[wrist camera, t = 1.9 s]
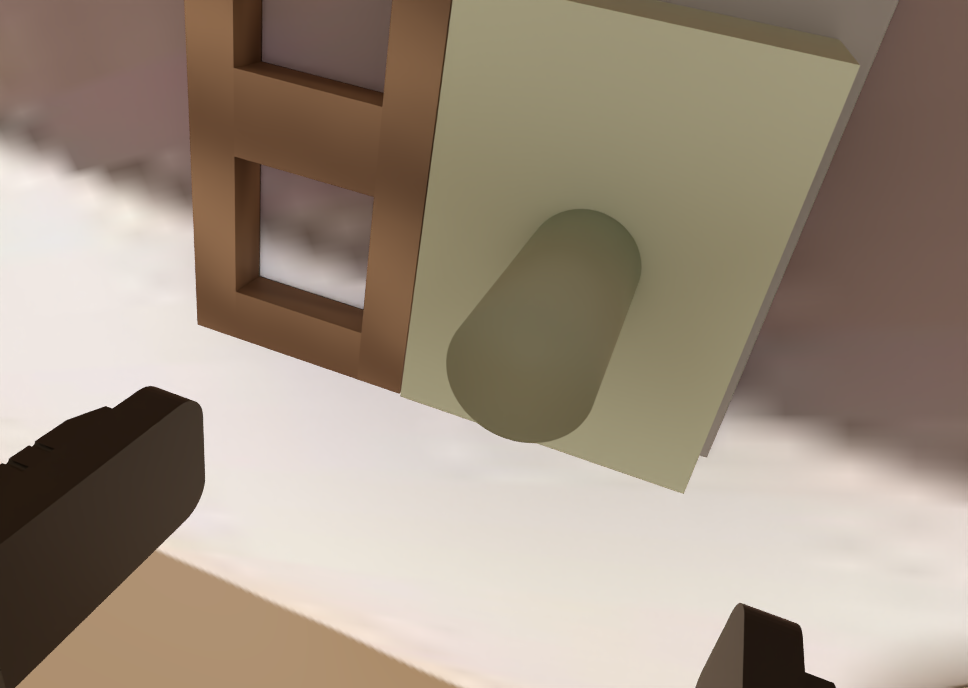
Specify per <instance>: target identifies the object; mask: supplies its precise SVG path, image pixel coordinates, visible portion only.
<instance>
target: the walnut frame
mask: <svg viewBox="0 0 968 688" xmlns="http://www.w3.org/2000/svg"><path fill="white" fill-rule="evenodd" d="M452 1H453V0H392V10H391V20H390V31H389V42H388V53H387V63H386V74H385V85H384V93H381V92H377V91H373V90H369V89H365V88H361V87H358V86H354V85H350V84H346V83H342V82H338V81H334V80H331V79H327V78H323V77H319V76H315V75H311V74H307V73H303V72H300V71H296V70H292V69H288V68H284V67H280V66H276V65H273V64H269V63H265V62H261V11H262V0H184V6H185V30H186V54H187V78H188V103H189V127H190V151H191V176H192V200H193V224H194V248H195V273H196V297H197V321H198V325H201V326H204V327H207V328H210V329H213V330H215V331H218V332H221V333H224V334H227V335H230V336H233V337H236V338H239V339H242V340H245V341H247V342H250V343H253V344H256V345H259V346H262V347H265V348H268V349H271V350H274V351H277V352H279V353H282V354H285V355H288V356H291V357H294V358H297V359H300V360H303V361H306V362H309V363H312V364H314V365H317V366H320V367H323V368H326V369H329V370H332V371H335V372H338V373H341V374H344V375H346V376H349V377H352V378H355V379H358V380H361V381H364V382H367V383H370V384H373V385H376V386H379V387H381V388H384V389H387V390H390V391H393V392H396V393H400V392H401V388H402V380H403V372H404V365H405V357H406V350H407V342H408V335H409V327H410V319H411V312H412V304H413V297H414V289H415V282H416V274H417V266H418V259H419V251H420V244H421V236H422V229H423V221H424V213H425V206H426V198H427V191H428V183H429V176H430V168H431V160H432V153H433V145H434V138H435V130H436V123H437V115H438V107H439V100H440V92H441V85H442V77H443V70H444V62H445V54H446V47H447V39H448V32H449V24H450V17H451V9H452ZM260 164H262V165H266V166H269V167H273V168H276V169H279V170H283V171H286V172H290V173H293V174H297V175H300V176H304V177H307V178H311V179H314V180H317V181H321V182H324V183H328V184H331V185H335V186H338V187H342V188H345V189H349V190H352V191H355V192H359V193H362V194H366V195H369V196H373V197H374V203H373V214H372V224H371V235H370V246H369V257H368V267H367V278H366V289H365V300H364V310H362V309H359V308H356V307H352V306H349V305H346V304H343V303H340V302H337V301H334V300H331V299H328V298H325V297H321V296H318V295H315V294H312V293H309V292H306V291H303V290H300V289H297V288H294V287H290V286H287V285H284V284H281V283H278V282H275V281H272V280H269V279H266V278H263V277H259V241H260Z"/></svg>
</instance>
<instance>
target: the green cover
mask: <svg viewBox="0 0 968 688" xmlns="http://www.w3.org/2000/svg"><path fill="white" fill-rule="evenodd" d="M859 67H860V64H859V63H858V62H857V61H856V59H855V58H854V57H853V56H852V54H851V53H850V52H849V51H848V50H847V48H846V47H845V46H844V45H843V43H842V42H841V41H840V40H839V39H834V38H829V37H825V36H820V35H815V34H811V33H806V32H801V31H797V30H792V29H788V28H783V27H778V26H774V25H769V24H764V23H760V22H755V21H750V20H746V19H741V18H736V17H732V16H727V15H723V14H718V13H713V12H709V11H704V10H699V9H695V8H690V7H685V6H681V5H676V4H672V3H667V2H662V1H658V0H453V1H452V9H451V17H450V24H449V32H448V39H447V47H446V54H445V62H444V70H443V77H442V85H441V92H440V100H439V107H438V115H437V123H436V130H435V138H434V145H433V153H432V160H431V168H430V176H429V183H428V191H427V198H426V206H425V213H424V221H423V229H422V236H421V244H420V251H419V259H418V266H417V274H416V282H415V289H414V297H413V304H412V312H411V319H410V327H409V335H408V342H407V350H406V357H405V365H404V372H403V380H402V388H401V395H400V396H401V397H404V398H407V399H410V400H412V401H415V402H418V403H421V404H424V405H427V406H430V407H433V408H436V409H439V410H442V411H444V412H447V413H450V414H453V415H456V416H459V417H462V418H465V419H468V420H471V421H473V422H476V423H478V424H479V425H481V426H482V427H484V428H485V429H487V430H488V431H490V432H492V433H494V434H496V435H498V436H501V437H503V438H506V439H510V440H513V441H518V442H524V443H537V444H540V445H543V446H546V447H549V448H552V449H555V450H558V451H561V452H564V453H566V454H569V455H572V456H575V457H578V458H581V459H584V460H587V461H590V462H593V463H596V464H598V465H601V466H604V467H607V468H610V469H613V470H616V471H619V472H622V473H625V474H627V475H630V476H633V477H636V478H639V479H642V480H645V481H648V482H651V483H654V484H657V485H659V486H662V487H665V488H668V489H671V490H674V491H677V492H680V493H683V494H684V491H685V489H686V487H687V484H688V482H689V479H690V477H691V474H692V472H693V470H694V467H695V465H696V462H697V460H698V457H699V455H700V453H701V450H702V448H703V445H704V443H705V441H706V438H707V436H708V433H709V431H710V428H711V426H712V424H713V421H714V419H715V416H716V414H717V411H718V409H719V407H720V404H721V402H722V399H723V397H724V395H725V392H726V390H727V387H728V385H729V382H730V380H731V378H732V375H733V373H734V370H735V368H736V365H737V363H738V361H739V358H740V356H741V353H742V351H743V348H744V346H745V344H746V341H747V339H748V336H749V334H750V332H751V329H752V327H753V324H754V322H755V319H756V317H757V315H758V312H759V310H760V307H761V305H762V302H763V300H764V298H765V295H766V293H767V290H768V288H769V285H770V283H771V281H772V278H773V276H774V273H775V271H776V269H777V266H778V264H779V261H780V259H781V256H782V254H783V252H784V249H785V247H786V244H787V242H788V239H789V237H790V235H791V232H792V230H793V227H794V225H795V223H796V220H797V218H798V215H799V213H800V210H801V208H802V206H803V203H804V201H805V198H806V196H807V193H808V191H809V189H810V186H811V184H812V181H813V179H814V176H815V174H816V172H817V169H818V167H819V164H820V162H821V160H822V157H823V155H824V152H825V150H826V147H827V145H828V143H829V140H830V138H831V135H832V133H833V130H834V128H835V126H836V123H837V121H838V118H839V116H840V113H841V111H842V109H843V106H844V104H845V101H846V99H847V97H848V94H849V92H850V89H851V87H852V84H853V82H854V80H855V77H856V75H857V72H858V70H859Z"/></svg>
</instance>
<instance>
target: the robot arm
mask: <svg viewBox="0 0 968 688" xmlns="http://www.w3.org/2000/svg"><path fill="white" fill-rule="evenodd" d="M204 484H205V462H204V433H203V412H202V408H201V406H200V405H199V404H198V403H197V402H195V401H192V400H190V399H187V398H184V397H181V396H179V395H176V394H173V393H170V392H168V391H165V390H162V389H160V388H157V387H154V386H148V387H144V388H142V389H140V390H139V391H137V392H136V393H134V394H133V395H131V396H130V397H128V398H127V399H126V400H124V401H123V402H121V403H120V404H118V405H117V406H116V407H114V408H113V409H112V408H109V407H107V406H105V407H102V408H99V409H96V410H94V411H91V412H88V413H85V414H82V415H80V416H77V417H74V418H71V419H68V420H66V421H65V422H63V423H62V424H60V425H59V426H57V427H56V428H54V429H53V430H51V431H50V432H48V433H47V434H45V435H44V436H42V437H41V438H39V439H38V440H36V441H35V444H34V445H33V446H32V447H31V446H27V447H26V448H24V449H23V450H21V451H20V452H18V453H17V454H15V455H14V456H12V457H11V458H9V461H8V463H7V464H3V463H2V464H0V688H15V687H16V686H17V685H18V684H19V683H20V682H21V681H22V680H23V679H24V678H25V677H26V676H27V675H28V674H29V673H30V672H31V671H32V670H33V669H34V668H36V667H37V665H39V664H40V663H41V662H42V661H43V660H44V659H45V658H46V657H47V656H48V655H49V654H50V653H51V652H52V651H53V650H54V649H55V648H56V647H57V646H58V645H59V644H60V643H61V642H62V641H63V640H64V639H65V638H66V637H67V636H68V635H69V634H70V633H71V632H72V631H73V630H74V629H75V628H76V627H77V626H78V625H79V624H80V623H81V622H82V621H83V620H85V618H87V617H88V616H89V615H90V614H91V613H92V612H93V611H94V610H95V609H96V607H98V606H99V605H100V604H101V603H102V602H103V601H104V600H105V599H106V598H107V597H108V596H109V595H110V594H111V593H112V592H113V591H114V590H115V589H116V588H117V587H118V586H119V585H120V584H121V583H122V582H123V581H124V580H125V579H126V578H127V577H128V576H129V575H130V574H131V573H132V572H133V571H134V570H136V569H137V568H138V566H140V565H141V564H142V563H143V562H144V561H145V560H146V559H147V558H148V556H150V555H151V554H152V553H153V552H154V551H155V550H156V549H157V548H158V547H159V546H160V545H161V544H162V543H163V542H164V541H165V540H166V539H167V538H168V537H169V536H170V535H171V534H172V533H173V532H174V531H175V530H176V529H177V528H178V527H179V526H180V525H181V524H182V523H183V522H184V521H185V520H186V519H187V518H188V517H189V516H190V515H191V513H192V512H193V511H194V509H195V508H196V506H197V504H198V502H199V500H200V498H201V495H202V492H203V489H204ZM696 688H836V687H835V685H834V683H832V682H829V681H827V680H824V679H822V678H819V677H816V676H814V675H811V674H808V673H806V672H805V666H804V649H803V636H802V630H801V627H800V626H799V625H798V624H797V623H794V622H791V621H789V620H786V619H783V618H780V617H778V616H775V615H772V614H769V613H767V612H764V611H761V610H759V609H756V608H753V607H750V606H748V605H745V604H742V603H739V604H737V605H736V607H735V608H734V609H733V611H732V613H731V615H730V617H729V619H728V621H727V623H726V625H725V627H724V629H723V631H722V633H721V635H720V637H719V639H718V641H717V643H716V645H715V647H714V649H713V651H712V653H711V654H710V656H709V658H708V660H707V662H706V664H705V666H704V668H703V670H702V672H701V674H700V677H699V679H698V682H697V685H696Z"/></svg>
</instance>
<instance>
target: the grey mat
mask: <svg viewBox="0 0 968 688" xmlns="http://www.w3.org/2000/svg"><path fill="white" fill-rule="evenodd" d="M658 1H662V2H667V3H672V4H676V5H681V6H685V7H690V8H695V9H699V10H704V11H709V12H713V13H718V14H723V15H727V16H732V17H736V18H741V19H746V20H750V21H755V22H760V23H764V24H769V25H774V26H778V27H783V28H788V29H792V30H797V31H801V32H806V33H811V34H815V35H820V36H825V37H829V38H834V39H839V40H840V41H841V42H842V43H843V45H844V46H845V47H846V48H847V50H848V51H849V52H850V53H851V54H852V56H853V57H854V58H855V59H856V61H857V62H858V63H859V64H860V67H859V70H858V72H857V75H856V77H855V80H854V82H853V84H852V87H851V89H850V92H849V94H848V97H847V99H846V101H845V104H844V106H843V109H842V111H841V113H840V116H839V118H838V121H837V123H836V126H835V128H834V130H833V133H832V135H831V138H830V140H829V143H828V145H827V147H826V150H825V152H824V155H823V157H822V160H821V162H820V164H819V167H818V169H817V172H816V174H815V176H814V179H813V181H812V184H811V186H810V189H809V191H808V193H807V196H806V198H805V201H804V203H803V206H802V208H801V210H800V213H799V215H798V218H797V220H796V223H795V225H794V227H793V230H792V232H791V235H790V237H789V239H788V242H787V244H786V247H785V249H784V252H783V254H782V256H781V259H780V261H779V264H778V266H777V269H776V271H775V273H774V276H773V278H772V281H771V283H770V285H769V288H768V290H767V293H766V295H765V298H764V300H763V302H762V305H761V307H760V310H759V312H758V315H757V317H756V319H755V322H754V324H753V327H752V329H751V332H750V334H749V336H748V339H747V341H746V344H745V346H744V348H743V351H742V353H741V356H740V358H739V361H738V363H737V365H736V368H735V370H734V373H733V375H732V378H731V380H730V382H729V385H728V387H727V390H726V392H725V395H724V397H723V399H722V402H721V404H720V407H719V409H718V411H717V414H716V416H715V419H714V421H713V424H712V426H711V428H710V431H709V433H708V436H707V438H706V441H705V443H704V445H703V448H702V450H701V453H700V455H701V456H704V457H707V456H708V453H709V451H710V449H711V446H712V444H713V441H714V439H715V437H716V434H717V432H718V430H719V427H720V425H721V422H722V420H723V418H724V415H725V413H726V411H727V408H728V406H729V403H730V401H731V399H732V396H733V394H734V392H735V389H736V387H737V384H738V382H739V380H740V377H741V375H742V373H743V370H744V368H745V365H746V363H747V361H748V358H749V356H750V353H751V351H752V349H753V346H754V344H755V342H756V339H757V337H758V334H759V332H760V330H761V327H762V325H763V323H764V320H765V318H766V315H767V313H768V311H769V308H770V306H771V304H772V301H773V299H774V296H775V294H776V292H777V289H778V287H779V284H780V282H781V280H782V277H783V275H784V273H785V270H786V268H787V265H788V263H789V261H790V258H791V256H792V254H793V251H794V249H795V246H796V244H797V242H798V239H799V237H800V235H801V232H802V230H803V227H804V225H805V223H806V220H807V218H808V216H809V213H810V211H811V208H812V206H813V204H814V201H815V199H816V196H817V194H818V192H819V189H820V187H821V185H822V182H823V180H824V177H825V175H826V173H827V170H828V168H829V166H830V163H831V161H832V158H833V156H834V154H835V151H836V149H837V147H838V144H839V142H840V139H841V137H842V135H843V132H844V130H845V127H846V125H847V123H848V120H849V118H850V116H851V113H852V111H853V108H854V106H855V104H856V101H857V99H858V97H859V94H860V92H861V89H862V87H863V85H864V82H865V80H866V78H867V75H868V73H869V70H870V68H871V66H872V63H873V61H874V58H875V56H876V54H877V51H878V49H879V47H880V44H881V42H882V39H883V37H884V35H885V32H886V30H887V28H888V25H889V23H890V20H891V18H892V16H893V13H894V11H895V9H896V6H897V4H898V1H899V0H658Z"/></svg>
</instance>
